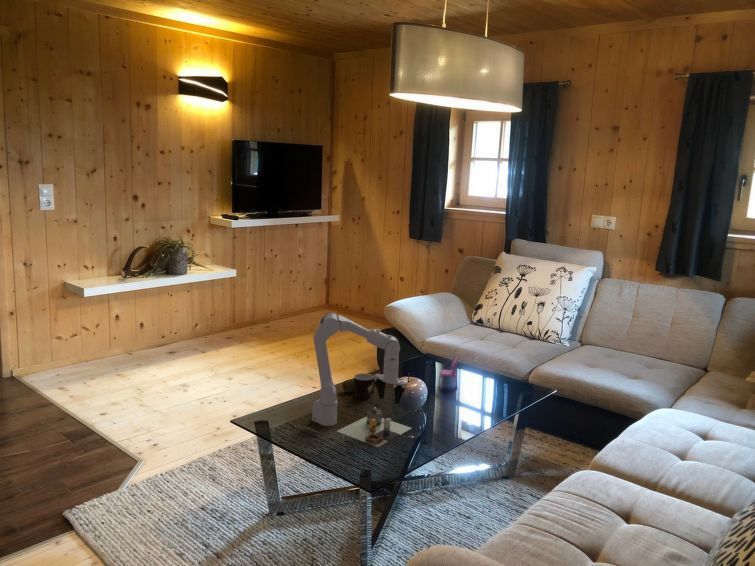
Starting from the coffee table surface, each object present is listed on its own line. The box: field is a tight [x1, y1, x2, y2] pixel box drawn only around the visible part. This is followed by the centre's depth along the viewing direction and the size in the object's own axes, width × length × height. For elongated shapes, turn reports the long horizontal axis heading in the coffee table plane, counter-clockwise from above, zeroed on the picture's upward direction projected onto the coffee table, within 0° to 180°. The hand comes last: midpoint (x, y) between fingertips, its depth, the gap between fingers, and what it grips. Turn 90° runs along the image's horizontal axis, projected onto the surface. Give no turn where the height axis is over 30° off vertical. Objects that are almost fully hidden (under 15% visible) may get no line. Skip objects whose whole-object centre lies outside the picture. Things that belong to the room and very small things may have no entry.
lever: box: [369, 418, 376, 432], centre depth 236 cm, size 6×3×4 cm, turn 176°
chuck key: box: [383, 417, 392, 436], centre depth 231 cm, size 2×4×6 cm, turn 142°
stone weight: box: [341, 377, 376, 394], centre depth 277 cm, size 15×7×7 cm, turn 119°
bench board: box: [336, 416, 413, 448], centre depth 237 cm, size 20×22×1 cm
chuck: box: [366, 406, 383, 426], centre depth 242 cm, size 6×6×6 cm
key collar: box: [365, 433, 384, 445], centre depth 227 cm, size 5×5×2 cm
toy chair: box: [438, 356, 459, 391], centre depth 287 cm, size 8×9×15 cm
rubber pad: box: [376, 430, 401, 442], centre depth 232 cm, size 7×7×1 cm
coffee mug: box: [353, 372, 374, 400], centre depth 270 cm, size 12×9×10 cm
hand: (389, 400), depth 242 cm, fingers open, 7 cm apart
